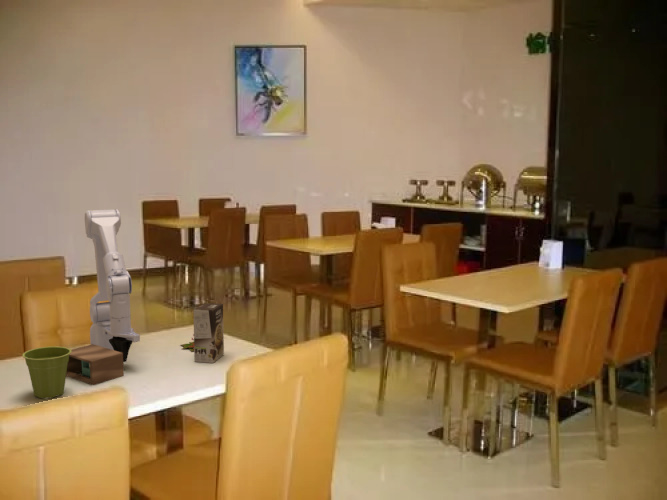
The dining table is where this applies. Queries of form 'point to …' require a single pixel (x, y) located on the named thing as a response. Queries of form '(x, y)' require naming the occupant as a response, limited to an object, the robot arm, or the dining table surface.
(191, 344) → the red green leafy plant
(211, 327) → the coffee box
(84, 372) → the tray
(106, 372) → the wooden crate box
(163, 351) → the dining table surface
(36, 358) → the plant pot
